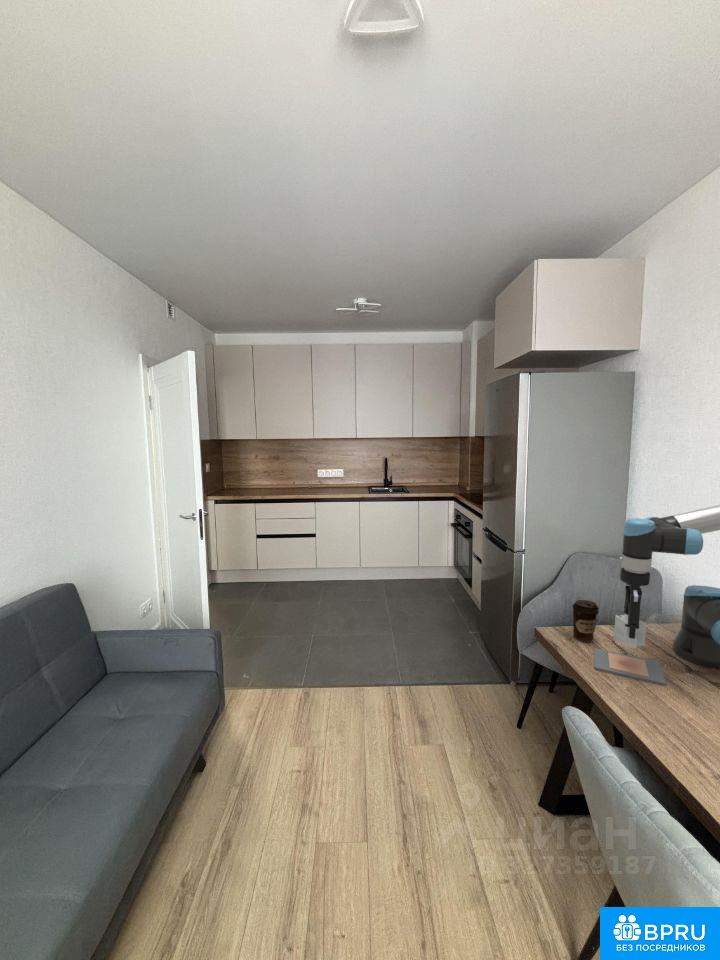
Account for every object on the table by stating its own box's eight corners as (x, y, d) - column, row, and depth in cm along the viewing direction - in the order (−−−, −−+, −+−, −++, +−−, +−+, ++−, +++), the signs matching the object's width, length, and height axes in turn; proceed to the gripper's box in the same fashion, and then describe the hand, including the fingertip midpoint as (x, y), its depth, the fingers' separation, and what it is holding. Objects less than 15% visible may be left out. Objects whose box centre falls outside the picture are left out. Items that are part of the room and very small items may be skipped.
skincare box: (645, 646, 127) (647, 623, 127) (625, 646, 127) (627, 623, 126) (631, 636, 133) (633, 614, 133) (612, 636, 133) (614, 614, 132)
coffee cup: (602, 644, 145) (605, 608, 143) (577, 644, 145) (580, 608, 143) (589, 632, 153) (591, 598, 152) (566, 632, 154) (568, 598, 152)
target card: (658, 664, 133) (659, 661, 133) (666, 686, 121) (666, 683, 121) (593, 650, 141) (594, 647, 141) (594, 669, 130) (595, 666, 130)
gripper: (618, 558, 138) (612, 624, 141) (623, 578, 120) (617, 653, 123) (645, 562, 135) (639, 629, 138) (655, 582, 117) (648, 659, 119)
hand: (628, 640), depth 130 cm, fingers closed on skincare box, 8 cm apart
